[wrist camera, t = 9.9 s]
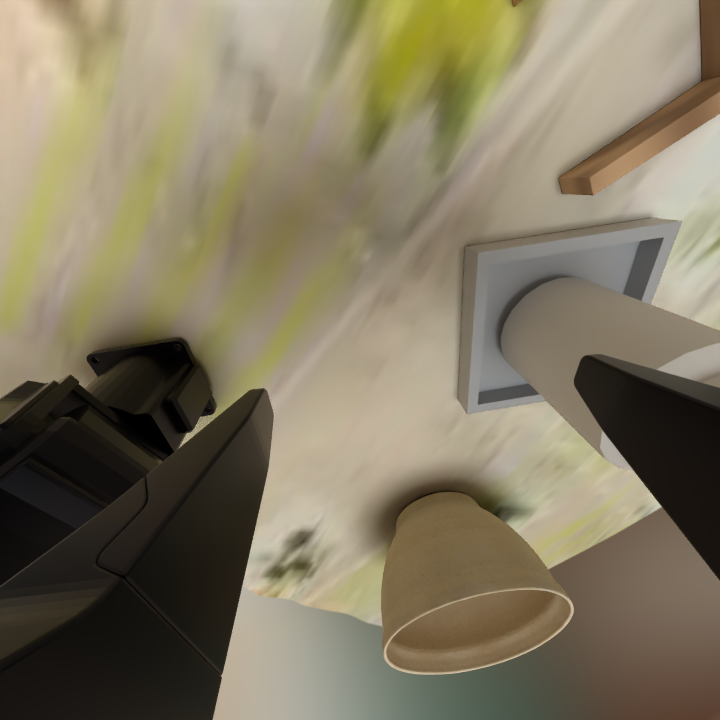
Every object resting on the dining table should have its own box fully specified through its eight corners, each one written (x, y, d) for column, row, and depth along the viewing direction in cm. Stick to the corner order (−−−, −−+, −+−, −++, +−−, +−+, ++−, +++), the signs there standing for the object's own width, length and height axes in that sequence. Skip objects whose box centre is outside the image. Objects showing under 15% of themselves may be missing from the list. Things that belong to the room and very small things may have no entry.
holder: (562, 193, 19) (593, 195, 17) (506, -20, 14) (540, -57, 12) (722, 88, 17) (779, 74, 15) (721, -201, 12) (806, -283, 10)
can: (566, 249, 20) (819, 322, 10) (610, 318, 23) (838, 429, 13) (475, 328, 22) (602, 454, 12) (526, 382, 26) (662, 518, 15)
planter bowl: (432, 568, 41) (465, 683, 31) (337, 530, 34) (343, 662, 25) (534, 503, 35) (609, 618, 26) (444, 444, 29) (501, 569, 20)
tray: (457, 399, 26) (467, 414, 25) (464, 246, 20) (478, 252, 18) (599, 375, 27) (618, 388, 25) (651, 217, 20) (682, 221, 19)
